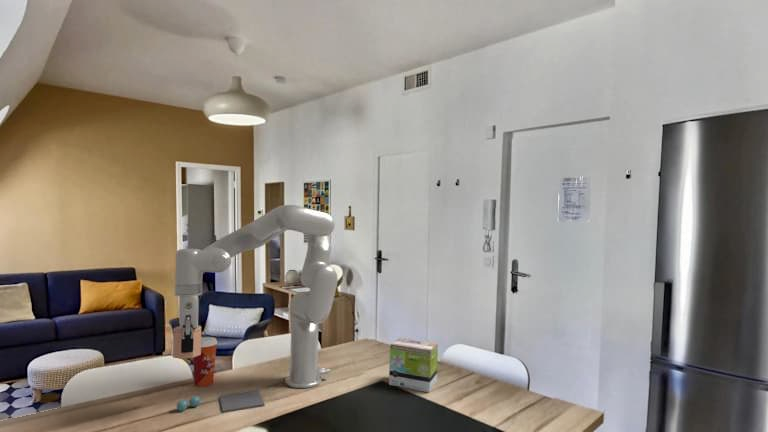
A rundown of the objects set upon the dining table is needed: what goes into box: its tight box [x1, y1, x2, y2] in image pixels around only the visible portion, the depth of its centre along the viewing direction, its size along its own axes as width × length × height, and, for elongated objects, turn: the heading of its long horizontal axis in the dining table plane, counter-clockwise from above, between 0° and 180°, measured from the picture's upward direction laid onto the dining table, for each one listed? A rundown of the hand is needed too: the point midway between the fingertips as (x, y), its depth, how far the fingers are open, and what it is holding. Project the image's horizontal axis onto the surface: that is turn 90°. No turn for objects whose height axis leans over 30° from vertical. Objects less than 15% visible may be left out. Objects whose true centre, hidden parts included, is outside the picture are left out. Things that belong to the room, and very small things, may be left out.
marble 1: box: [176, 399, 189, 412], centre depth 125 cm, size 3×3×3 cm
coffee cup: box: [192, 336, 218, 387], centre depth 147 cm, size 8×8×15 cm
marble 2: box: [188, 395, 201, 408], centre depth 128 cm, size 3×3×3 cm
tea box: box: [388, 337, 439, 393], centre depth 150 cm, size 15×10×15 cm
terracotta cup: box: [172, 324, 202, 360], centre depth 128 cm, size 8×8×8 cm
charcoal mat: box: [219, 389, 266, 413], centre depth 132 cm, size 12×12×1 cm
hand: (187, 347), depth 128 cm, fingers closed on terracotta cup, 7 cm apart
